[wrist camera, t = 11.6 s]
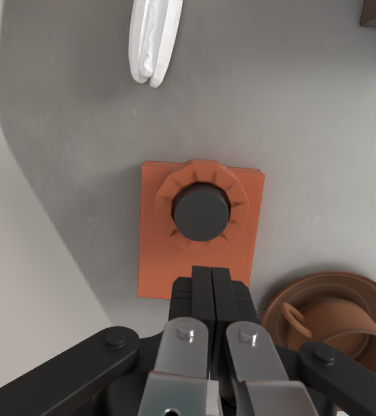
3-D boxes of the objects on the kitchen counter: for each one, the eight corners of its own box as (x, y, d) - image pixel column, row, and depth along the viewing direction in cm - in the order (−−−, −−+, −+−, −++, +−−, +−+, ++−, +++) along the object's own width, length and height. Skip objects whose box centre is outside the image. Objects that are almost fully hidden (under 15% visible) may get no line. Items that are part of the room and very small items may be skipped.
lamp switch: (177, 182, 23) (175, 188, 21) (229, 186, 23) (231, 192, 21) (174, 230, 24) (172, 240, 22) (223, 234, 24) (225, 244, 22)
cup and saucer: (234, 352, 31) (244, 409, 25) (288, 243, 28) (313, 280, 22) (348, 387, 32) (382, 450, 26) (413, 286, 29) (469, 333, 23)
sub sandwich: (192, -33, 22) (192, -52, 19) (167, 91, 24) (163, 89, 22) (147, -46, 22) (140, -67, 19) (125, 80, 24) (117, 77, 21)
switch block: (146, 151, 26) (137, 159, 22) (260, 159, 26) (272, 169, 22) (141, 283, 29) (133, 310, 25) (242, 290, 29) (249, 318, 25)
